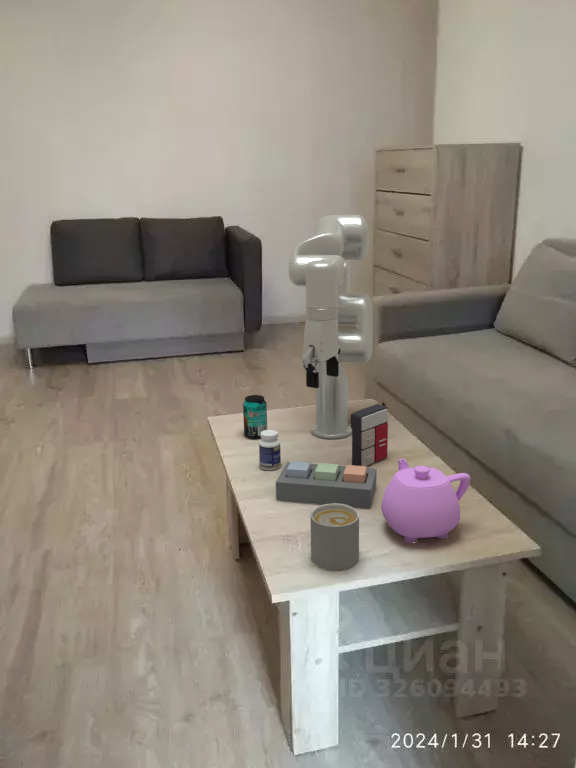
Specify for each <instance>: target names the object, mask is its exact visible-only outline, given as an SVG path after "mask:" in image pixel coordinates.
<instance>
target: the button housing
mask: <svg viewBox="0 0 576 768" xmlns="http://www.w3.org/2000/svg"><path fill="white" fill-rule="evenodd" d="M290 463H291V461H287V462H286V464H285V465H284V467H283V468H282V470H281V472H280V473H279V475H278V477H277V479H276V481H275V499H276V502H288V503H301V504H308V505H309V504H310V505H311V504H312V505H319V506H321V505H324V504H332V503H337V504H345V505H348V506H351V507H353V508H354V509H356V508H357V509H364V510H371V508H372V503H373V500H374V497H375V493H376V489H377V468H373V467H367V480H366V484H365V483H352V482H343V473H344V471H345V468H346V465H339V476H338V479H337V481H327V480H315V470H316V468H317V466H318V464H319V463H311V474H310V476H309V478H308V479H303V478H290V477H287V468H288V466H289V464H290Z"/></svg>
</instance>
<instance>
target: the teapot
mask: <svg viewBox="0 0 576 768" xmlns="http://www.w3.org/2000/svg"><path fill="white" fill-rule="evenodd" d="M397 462H398V470H397V471H396V472H395V473H394V474H393V476H392V477H391V479H390V480H389V482H388V484H387V486H386V488H385V490H384V492H383V497H382V500H381V507H380V508H381V513H382V516H383V517H384V519H385V521H386V522H387V524H388V525H389V527H390V528H391V529H392V530H393V531H394V532H396V533H397V534H398V535H399V536H403V542H404V541H405V543H406V544H414V543H413V542H416V541H417V542H418V539H420V538H422V539H424V538H438V539H439V538H440V540H445V539H444V538H446V539H448V538H449V537H448V535H449V532H451V531H453V530H454V529H455V527H456V526H457V525H458V524H459V523H460V520H461V507H460V503H459V501H460V500H461V499H462V498H463V497H464V495H465V493H466V492H467V490H468V488H469V487H470V484H471V479H472V477H471V476H470V474H468V473H467V472H460V473H455V474H451V475H445V474H444V473H443V471H441V470H439V469H437V468H435V467H430V466H429V467H428V466H426V465H416V466H414V467H409V464H408V461H407V460H406V459H405V458H399V459H398V461H397ZM457 481H459V486H458V488H457V490H456V491H455V489H454V488H453V486H452V483H453V482H457ZM435 536H436V537H435ZM447 537H448V538H447ZM417 542H416V543H417Z"/></svg>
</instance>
